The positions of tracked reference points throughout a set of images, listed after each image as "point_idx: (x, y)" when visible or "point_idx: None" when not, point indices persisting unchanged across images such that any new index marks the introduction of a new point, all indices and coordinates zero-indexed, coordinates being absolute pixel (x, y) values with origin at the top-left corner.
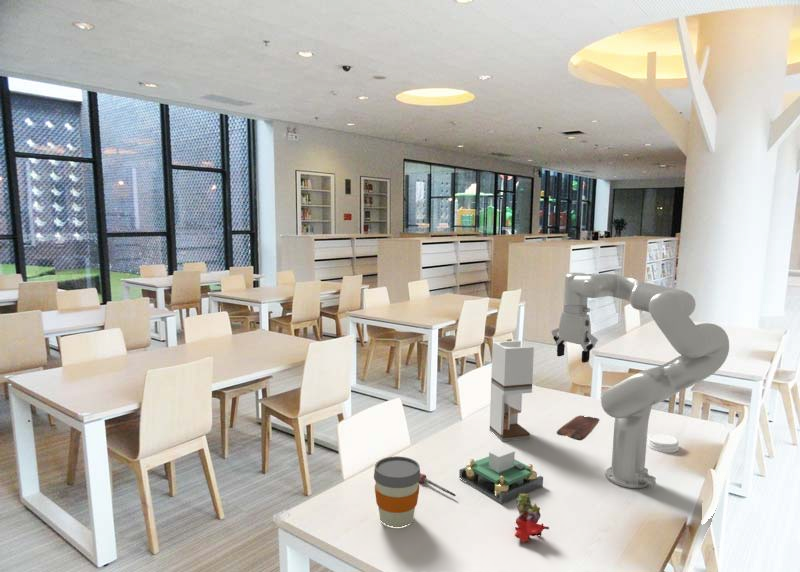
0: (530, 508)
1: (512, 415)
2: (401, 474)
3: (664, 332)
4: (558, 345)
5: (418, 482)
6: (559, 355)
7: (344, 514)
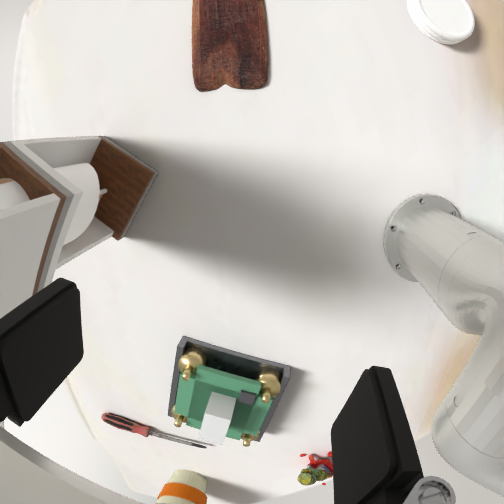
0: (319, 479)
1: (80, 154)
2: None
3: None
4: (17, 423)
5: None
6: (79, 356)
7: (153, 481)
